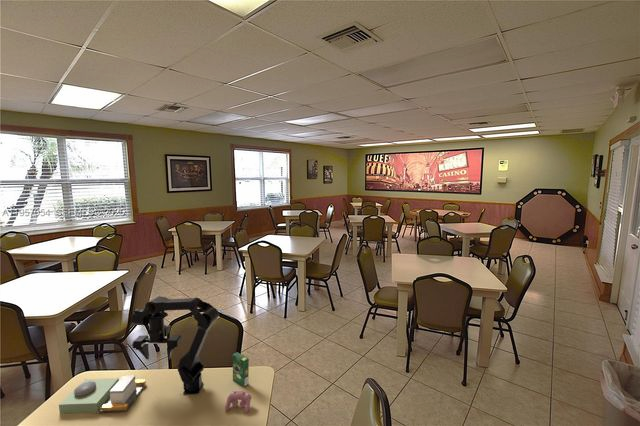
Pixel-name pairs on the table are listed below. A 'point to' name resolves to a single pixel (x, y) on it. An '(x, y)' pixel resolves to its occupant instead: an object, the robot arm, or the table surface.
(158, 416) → the table surface
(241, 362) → the coffee box
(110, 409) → the white yellow tray
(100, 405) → the green slab
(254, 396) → the table surface
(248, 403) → the video game controller
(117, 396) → the chute block
